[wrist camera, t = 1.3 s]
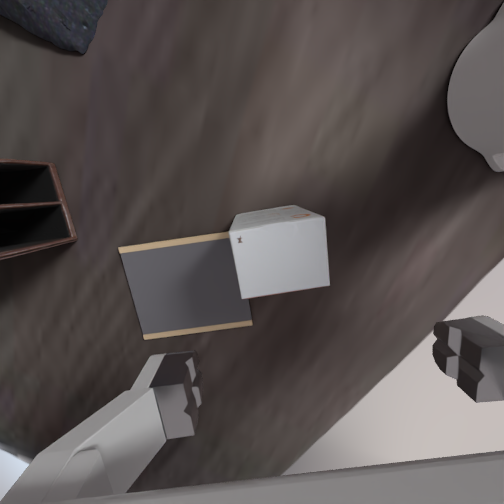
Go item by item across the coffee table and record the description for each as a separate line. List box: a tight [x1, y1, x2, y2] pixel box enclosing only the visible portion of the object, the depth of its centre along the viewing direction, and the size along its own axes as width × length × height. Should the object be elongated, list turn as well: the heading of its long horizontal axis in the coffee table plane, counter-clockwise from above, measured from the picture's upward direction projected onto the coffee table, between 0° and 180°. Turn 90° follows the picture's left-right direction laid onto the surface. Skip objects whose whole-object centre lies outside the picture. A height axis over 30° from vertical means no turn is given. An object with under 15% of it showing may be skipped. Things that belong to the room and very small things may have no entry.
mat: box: [118, 231, 253, 340], centre depth 35 cm, size 16×14×1 cm
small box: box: [228, 205, 330, 299], centre depth 27 cm, size 8×6×13 cm
